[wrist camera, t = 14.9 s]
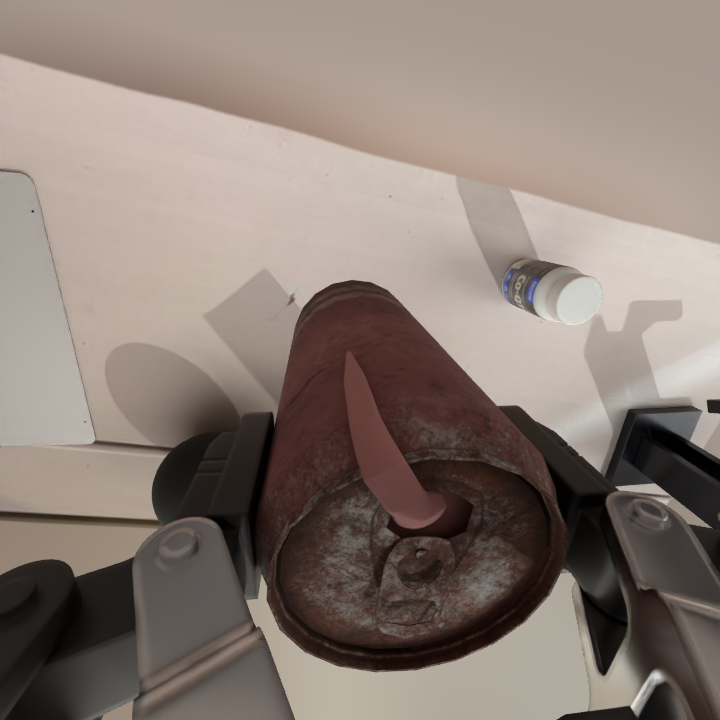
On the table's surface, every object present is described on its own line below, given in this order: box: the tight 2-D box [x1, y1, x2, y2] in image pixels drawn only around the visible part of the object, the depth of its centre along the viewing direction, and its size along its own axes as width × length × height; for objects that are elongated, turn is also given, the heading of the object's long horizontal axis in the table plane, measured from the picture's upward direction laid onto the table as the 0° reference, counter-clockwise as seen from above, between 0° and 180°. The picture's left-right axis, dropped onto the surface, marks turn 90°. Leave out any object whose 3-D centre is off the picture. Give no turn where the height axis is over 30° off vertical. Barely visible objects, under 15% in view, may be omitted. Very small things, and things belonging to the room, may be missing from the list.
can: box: [255, 280, 568, 672], centre depth 13 cm, size 6×6×14 cm
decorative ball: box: [152, 433, 221, 526], centre depth 34 cm, size 10×10×10 cm
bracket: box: [605, 406, 720, 530], centre depth 40 cm, size 11×9×14 cm
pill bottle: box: [502, 259, 603, 325], centre depth 32 cm, size 5×5×8 cm
